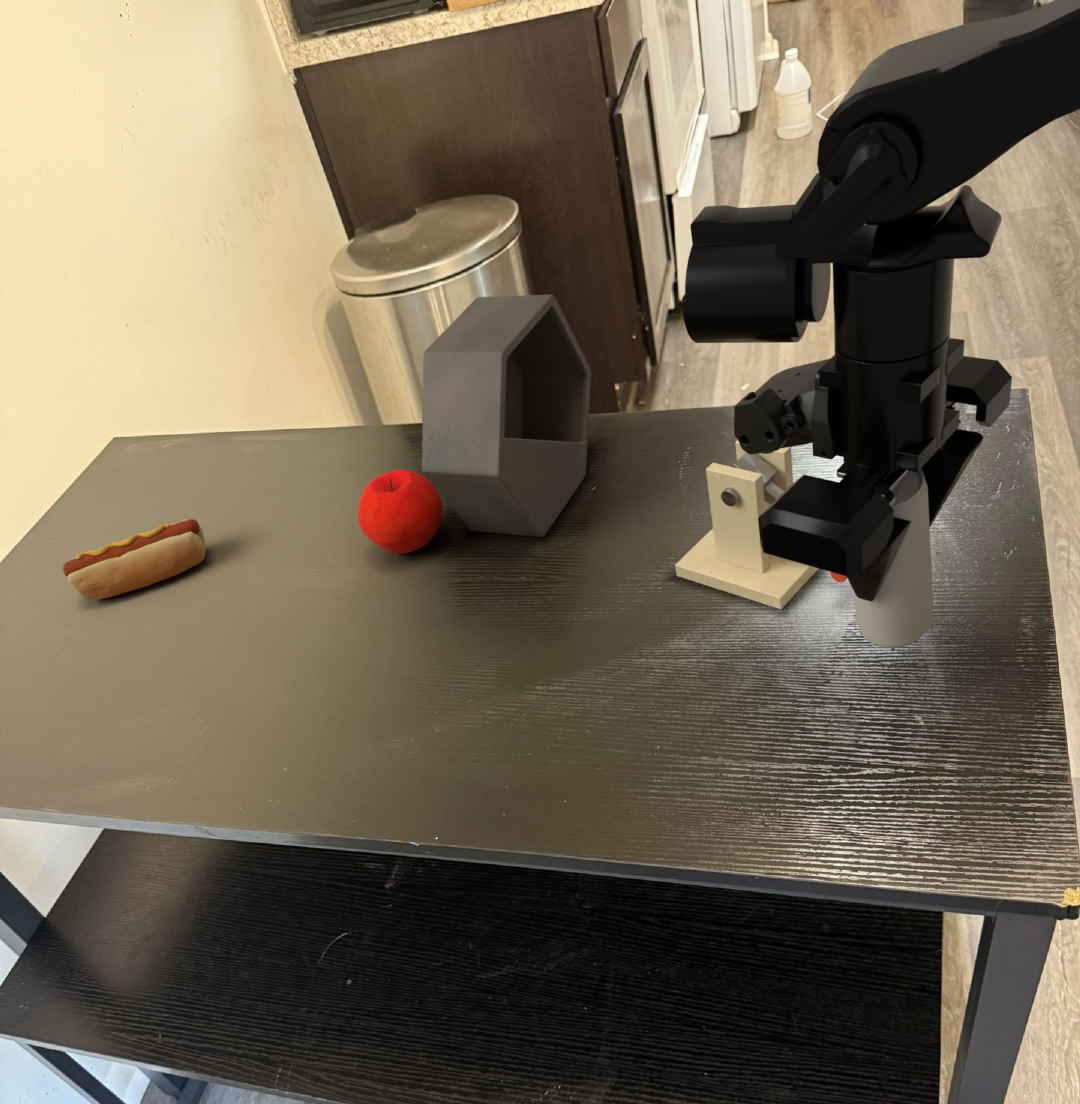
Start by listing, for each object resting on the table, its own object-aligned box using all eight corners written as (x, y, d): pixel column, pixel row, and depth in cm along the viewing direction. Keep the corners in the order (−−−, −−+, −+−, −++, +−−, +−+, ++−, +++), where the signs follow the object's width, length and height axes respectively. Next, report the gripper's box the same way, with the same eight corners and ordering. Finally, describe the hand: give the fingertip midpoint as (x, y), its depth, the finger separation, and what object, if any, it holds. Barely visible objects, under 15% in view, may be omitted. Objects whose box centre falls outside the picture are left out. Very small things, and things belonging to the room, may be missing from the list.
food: (83, 616, 100) (55, 577, 97) (86, 587, 104) (59, 548, 101) (216, 569, 101) (193, 528, 98) (213, 541, 105) (192, 501, 102)
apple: (408, 580, 92) (382, 513, 87) (356, 557, 97) (328, 492, 92) (469, 533, 96) (447, 465, 90) (415, 512, 100) (391, 447, 95)
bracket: (840, 545, 82) (838, 438, 75) (781, 610, 78) (773, 504, 71) (736, 517, 88) (725, 416, 81) (676, 576, 84) (660, 475, 77)
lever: (871, 552, 78) (885, 533, 76) (838, 589, 76) (852, 571, 73) (748, 460, 80) (759, 439, 78) (712, 494, 78) (722, 473, 76)
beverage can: (940, 601, 67) (934, 455, 58) (926, 655, 64) (918, 511, 56) (866, 597, 69) (849, 455, 60) (849, 649, 67) (830, 509, 58)
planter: (496, 542, 85) (505, 277, 79) (420, 535, 88) (423, 281, 83) (583, 532, 99) (595, 308, 94) (515, 527, 103) (522, 310, 97)
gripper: (841, 248, 61) (845, 469, 72) (661, 401, 53) (696, 625, 64) (1028, 262, 55) (1002, 503, 66) (855, 439, 47) (857, 680, 57)
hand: (887, 573), depth 63 cm, fingers closed on beverage can, 5 cm apart
